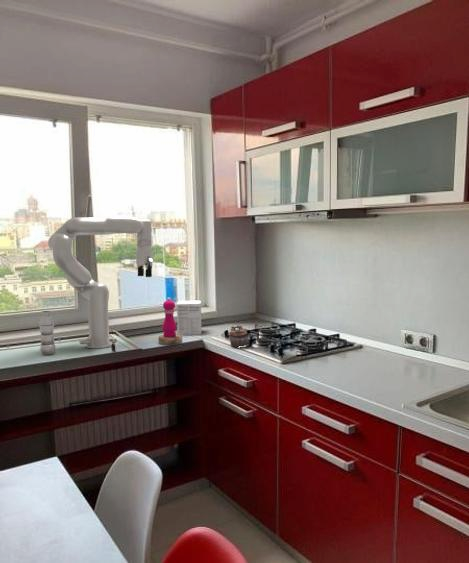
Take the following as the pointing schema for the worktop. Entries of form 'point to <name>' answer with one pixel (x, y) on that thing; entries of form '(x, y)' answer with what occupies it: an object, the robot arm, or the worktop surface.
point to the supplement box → (189, 317)
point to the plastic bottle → (47, 334)
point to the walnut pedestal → (170, 339)
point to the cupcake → (238, 336)
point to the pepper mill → (169, 319)
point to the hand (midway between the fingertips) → (144, 276)
